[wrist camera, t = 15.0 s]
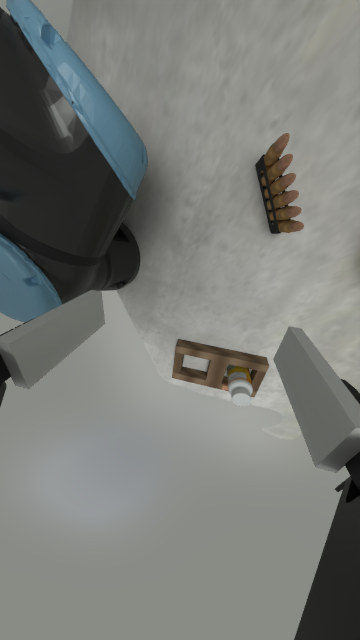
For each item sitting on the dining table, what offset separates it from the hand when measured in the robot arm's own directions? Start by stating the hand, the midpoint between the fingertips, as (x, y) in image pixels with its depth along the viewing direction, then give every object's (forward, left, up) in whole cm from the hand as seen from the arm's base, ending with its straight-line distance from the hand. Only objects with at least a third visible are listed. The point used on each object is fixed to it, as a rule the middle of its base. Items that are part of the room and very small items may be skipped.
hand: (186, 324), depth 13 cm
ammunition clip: (+8, +11, -27) cm, 30 cm away
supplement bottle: (+13, -26, -27) cm, 39 cm away
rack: (+7, -26, -27) cm, 38 cm away
